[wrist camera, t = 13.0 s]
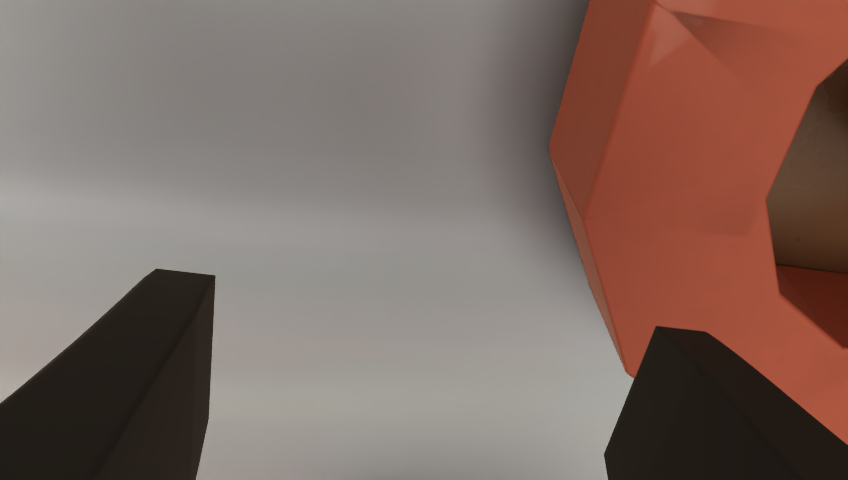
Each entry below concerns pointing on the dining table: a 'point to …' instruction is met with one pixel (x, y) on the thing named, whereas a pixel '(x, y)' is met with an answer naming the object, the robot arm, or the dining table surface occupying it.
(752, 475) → the robot arm
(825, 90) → the stand
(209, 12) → the dining table surface
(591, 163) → the ring
